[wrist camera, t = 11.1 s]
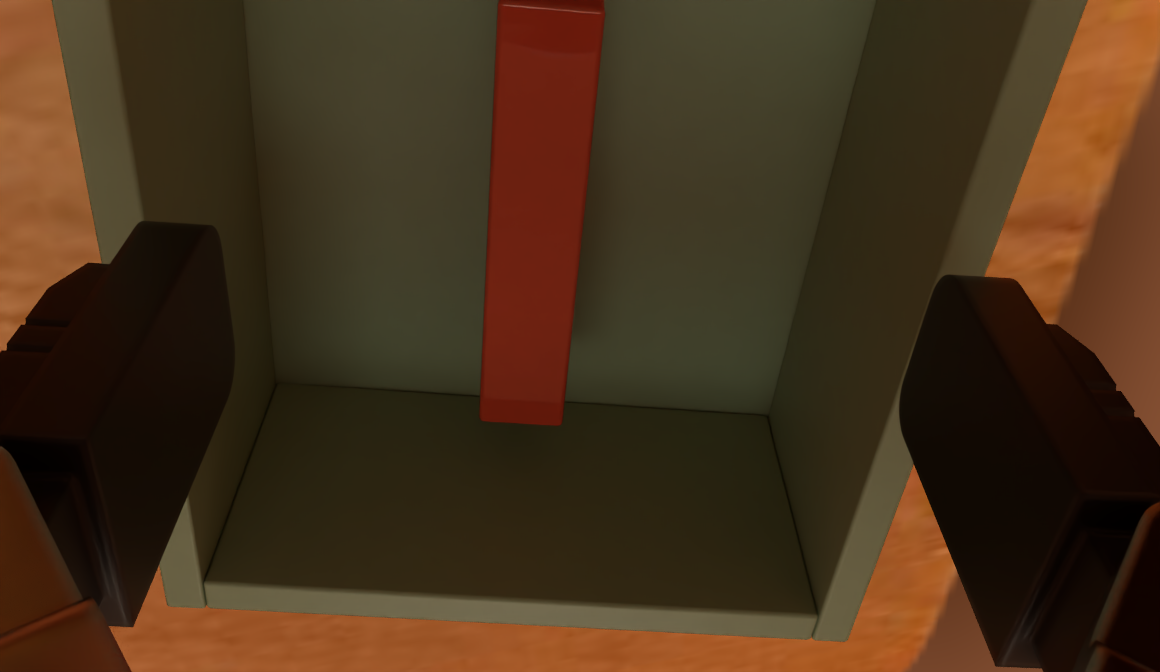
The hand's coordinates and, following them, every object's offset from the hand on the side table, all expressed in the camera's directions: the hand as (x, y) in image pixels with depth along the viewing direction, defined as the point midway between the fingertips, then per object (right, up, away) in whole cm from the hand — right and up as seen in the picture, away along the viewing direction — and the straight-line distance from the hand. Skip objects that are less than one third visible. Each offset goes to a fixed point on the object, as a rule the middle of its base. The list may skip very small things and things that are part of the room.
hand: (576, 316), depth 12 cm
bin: (0, +4, +5) cm, 7 cm away
